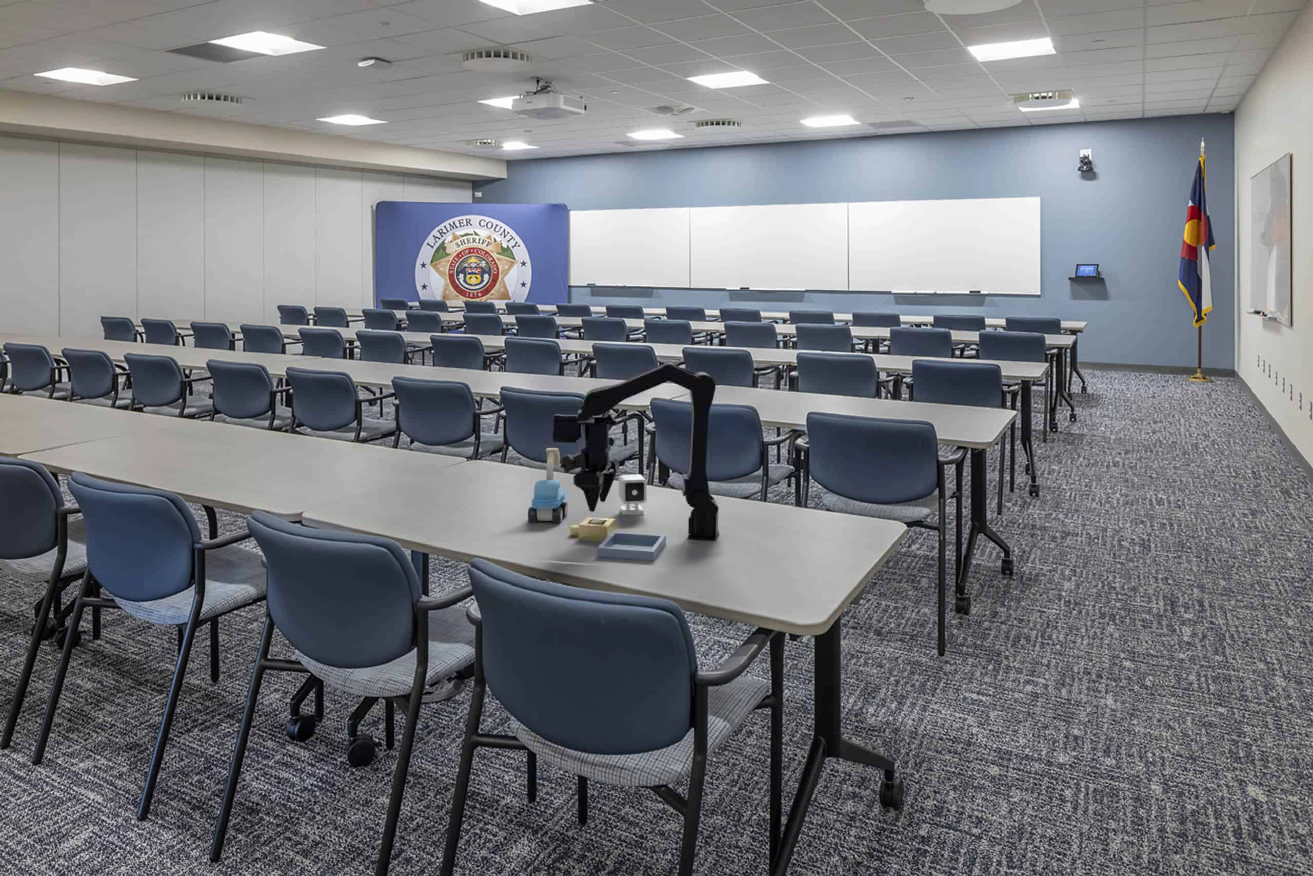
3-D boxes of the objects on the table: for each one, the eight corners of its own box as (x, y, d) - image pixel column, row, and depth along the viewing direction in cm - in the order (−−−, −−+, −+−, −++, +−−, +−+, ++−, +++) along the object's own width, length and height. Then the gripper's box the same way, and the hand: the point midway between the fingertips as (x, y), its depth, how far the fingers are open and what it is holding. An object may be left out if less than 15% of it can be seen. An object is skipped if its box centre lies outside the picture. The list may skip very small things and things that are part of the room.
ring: (615, 532, 227) (614, 518, 226) (607, 541, 220) (607, 526, 220) (575, 530, 229) (575, 516, 228) (567, 538, 222) (566, 524, 222)
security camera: (622, 517, 242) (622, 480, 240) (618, 510, 249) (618, 474, 247) (646, 516, 243) (646, 479, 241) (641, 509, 250) (641, 473, 248)
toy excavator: (572, 509, 250) (571, 446, 247) (560, 526, 234) (559, 459, 231) (541, 508, 251) (540, 446, 248) (526, 525, 235) (525, 459, 231)
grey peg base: (620, 533, 228) (620, 517, 227) (610, 544, 219) (610, 527, 218) (584, 531, 230) (584, 515, 229) (573, 541, 221) (573, 525, 220)
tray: (665, 545, 218) (666, 535, 218) (653, 562, 206) (653, 551, 205) (612, 541, 221) (612, 531, 221) (597, 558, 209) (597, 547, 208)
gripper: (575, 434, 231) (576, 495, 234) (551, 448, 213) (552, 514, 216) (619, 436, 228) (619, 497, 231) (598, 450, 210) (599, 517, 213)
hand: (597, 506), depth 223 cm, fingers open, 9 cm apart
